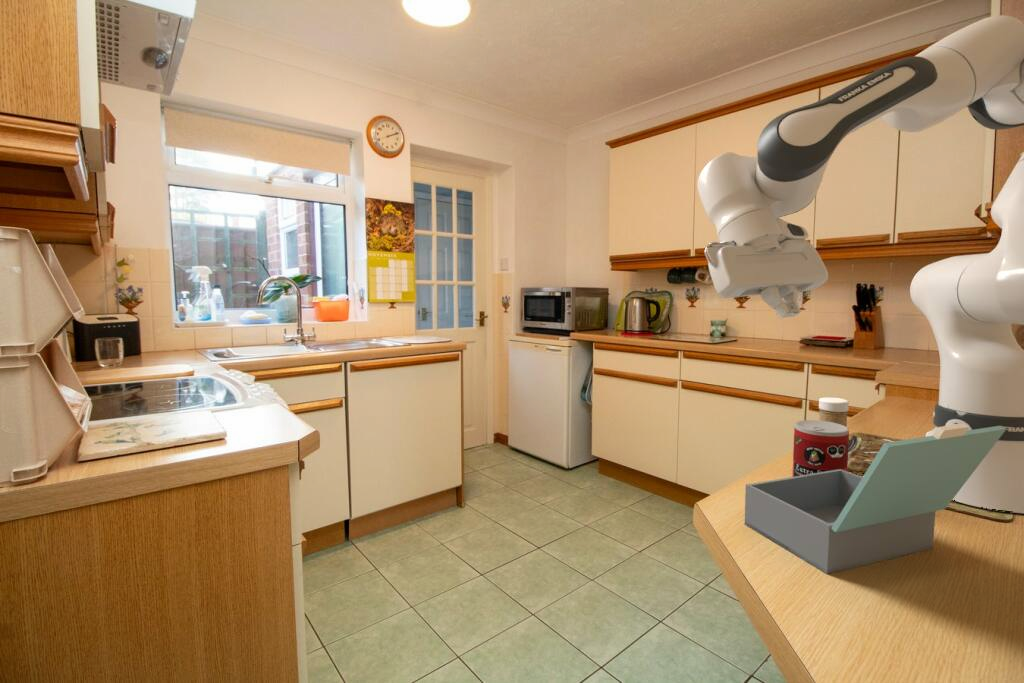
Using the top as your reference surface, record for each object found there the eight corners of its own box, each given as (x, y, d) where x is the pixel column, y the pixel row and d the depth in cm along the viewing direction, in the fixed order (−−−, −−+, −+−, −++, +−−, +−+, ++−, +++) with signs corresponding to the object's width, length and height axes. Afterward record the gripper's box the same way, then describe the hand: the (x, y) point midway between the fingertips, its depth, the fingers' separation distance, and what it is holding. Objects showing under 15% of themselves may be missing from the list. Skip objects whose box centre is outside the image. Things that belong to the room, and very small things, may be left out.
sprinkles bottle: (849, 470, 89) (853, 399, 87) (838, 475, 86) (842, 403, 85) (822, 463, 93) (826, 395, 91) (811, 468, 90) (814, 398, 89)
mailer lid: (1006, 417, 54) (1012, 420, 54) (940, 505, 61) (945, 508, 60) (889, 433, 49) (895, 437, 48) (831, 528, 56) (835, 532, 55)
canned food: (786, 489, 81) (788, 426, 80) (799, 476, 86) (802, 417, 85) (839, 503, 75) (843, 435, 74) (850, 488, 81) (854, 425, 80)
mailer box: (838, 506, 74) (840, 469, 74) (932, 548, 62) (935, 503, 61) (744, 524, 69) (745, 484, 68) (827, 574, 57) (829, 526, 56)
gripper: (713, 230, 71) (752, 310, 66) (812, 227, 78) (854, 300, 73) (689, 254, 77) (723, 330, 72) (783, 250, 84) (820, 319, 78)
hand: (790, 315), depth 72 cm, fingers closed
